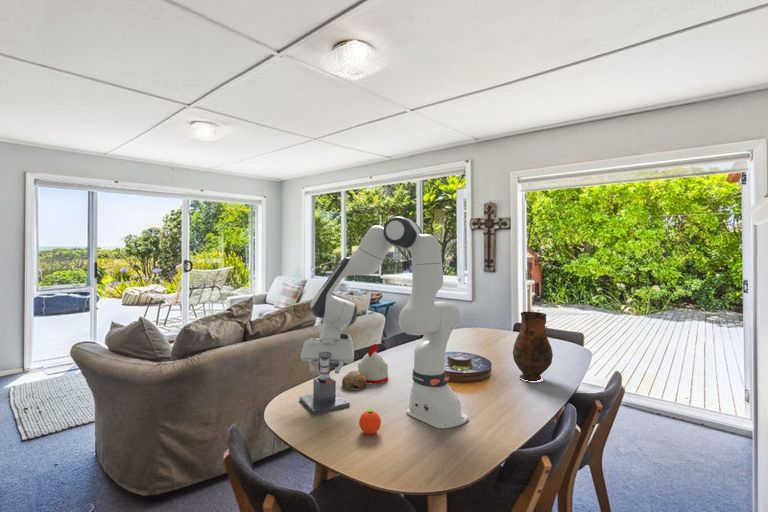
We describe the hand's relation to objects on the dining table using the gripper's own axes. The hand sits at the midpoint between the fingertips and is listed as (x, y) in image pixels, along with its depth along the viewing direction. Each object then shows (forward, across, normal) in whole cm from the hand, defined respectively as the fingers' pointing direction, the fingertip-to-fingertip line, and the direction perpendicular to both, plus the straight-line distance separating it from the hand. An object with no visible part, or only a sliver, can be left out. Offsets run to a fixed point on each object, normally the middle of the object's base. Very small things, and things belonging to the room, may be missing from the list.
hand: (324, 372), depth 141 cm
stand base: (+8, 0, +9) cm, 12 cm away
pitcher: (-19, +88, +36) cm, 97 cm away
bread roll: (-5, +8, +22) cm, 24 cm away
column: (+7, 0, +8) cm, 10 cm away
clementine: (+22, +20, -5) cm, 30 cm away
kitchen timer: (-12, +15, +29) cm, 35 cm away
